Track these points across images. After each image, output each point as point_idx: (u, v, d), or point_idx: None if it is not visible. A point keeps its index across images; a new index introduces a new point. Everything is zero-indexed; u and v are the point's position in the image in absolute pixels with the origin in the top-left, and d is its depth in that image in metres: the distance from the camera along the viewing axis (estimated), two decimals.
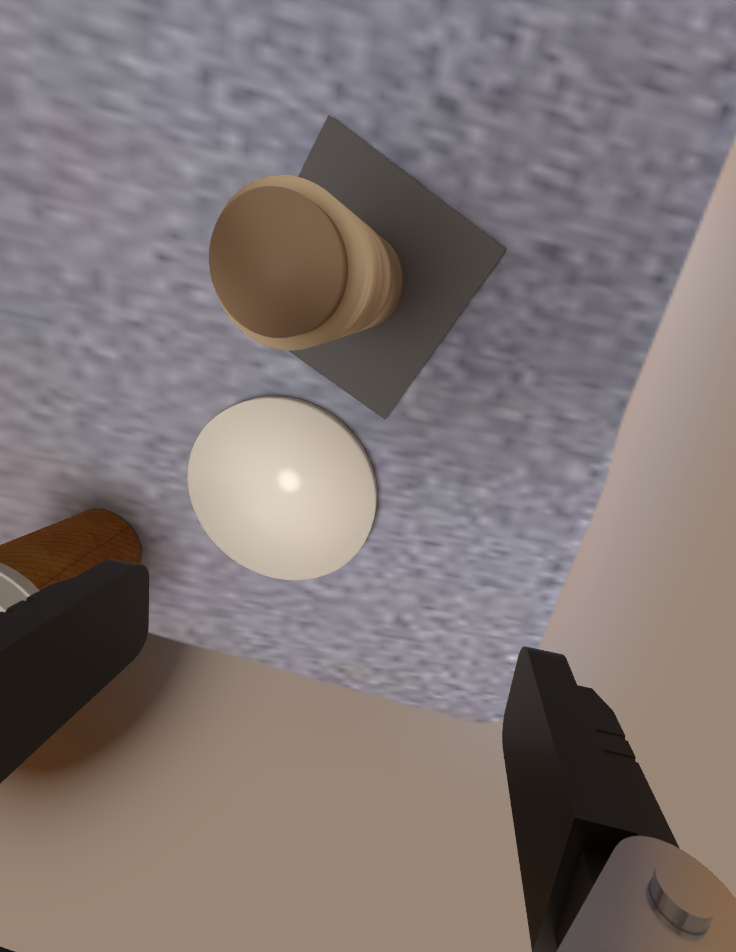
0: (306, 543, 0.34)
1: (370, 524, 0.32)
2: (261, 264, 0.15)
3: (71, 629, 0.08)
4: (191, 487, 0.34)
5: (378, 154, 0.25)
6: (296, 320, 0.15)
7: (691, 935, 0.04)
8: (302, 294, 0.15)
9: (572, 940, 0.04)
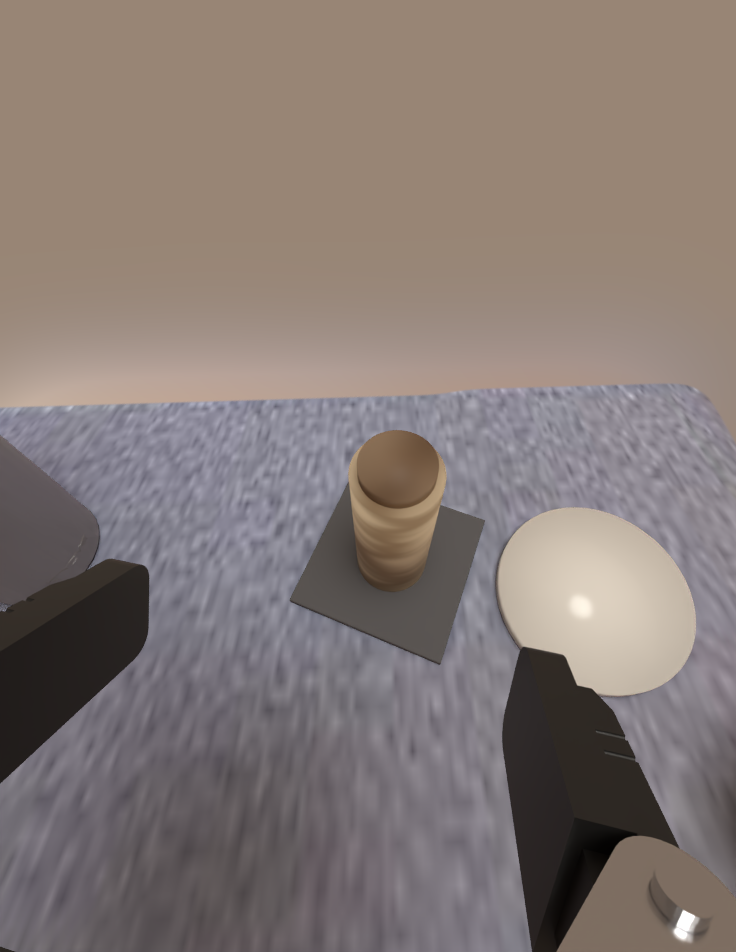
0: (627, 558, 0.35)
1: (576, 508, 0.38)
2: (398, 469, 0.24)
3: (71, 629, 0.08)
4: (637, 689, 0.31)
5: (309, 561, 0.37)
6: (424, 448, 0.25)
7: (691, 935, 0.04)
8: (408, 446, 0.25)
9: (572, 940, 0.04)
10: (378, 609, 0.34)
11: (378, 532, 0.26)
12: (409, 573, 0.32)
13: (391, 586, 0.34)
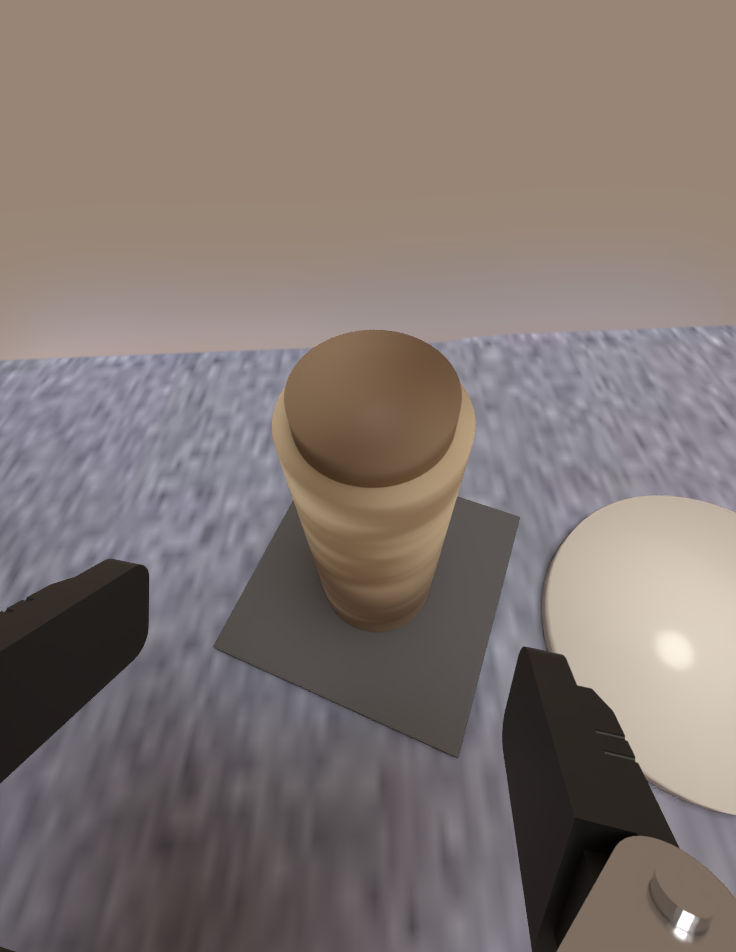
0: None
1: (661, 497, 0.25)
2: (373, 403, 0.11)
3: (72, 629, 0.08)
4: None
5: (249, 583, 0.23)
6: (428, 361, 0.12)
7: (691, 935, 0.04)
8: (396, 359, 0.12)
9: (572, 940, 0.04)
10: (355, 662, 0.21)
11: (338, 538, 0.13)
12: (404, 606, 0.19)
13: (375, 625, 0.21)
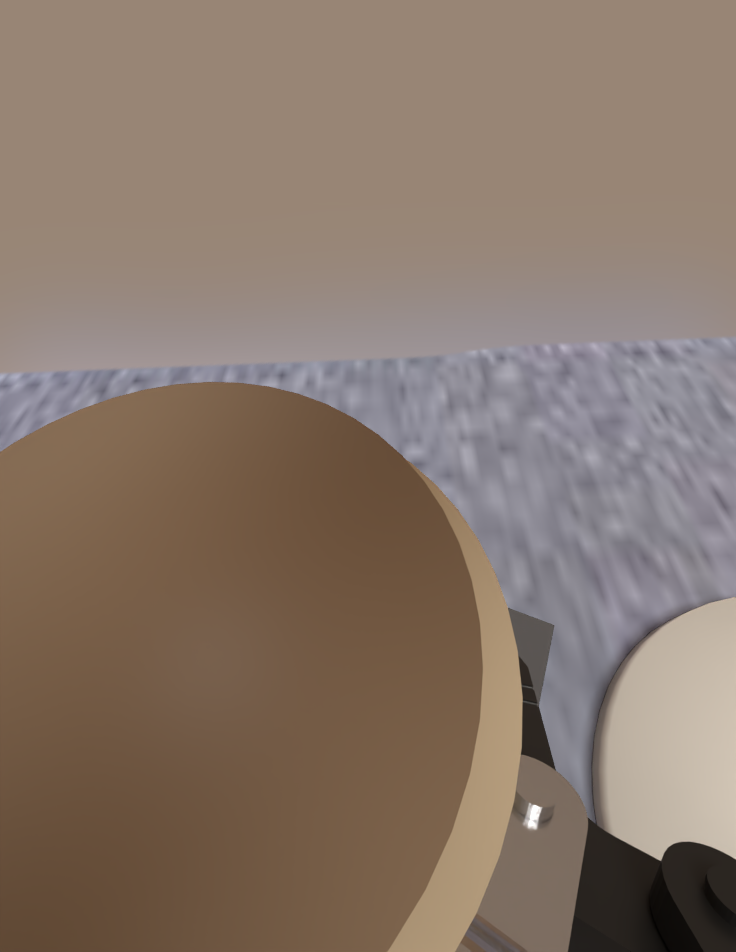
0: None
1: None
2: (139, 693, 0.03)
3: None
4: None
5: None
6: (368, 496, 0.04)
7: (532, 821, 0.05)
8: (264, 488, 0.04)
9: None
10: None
11: None
12: None
13: None
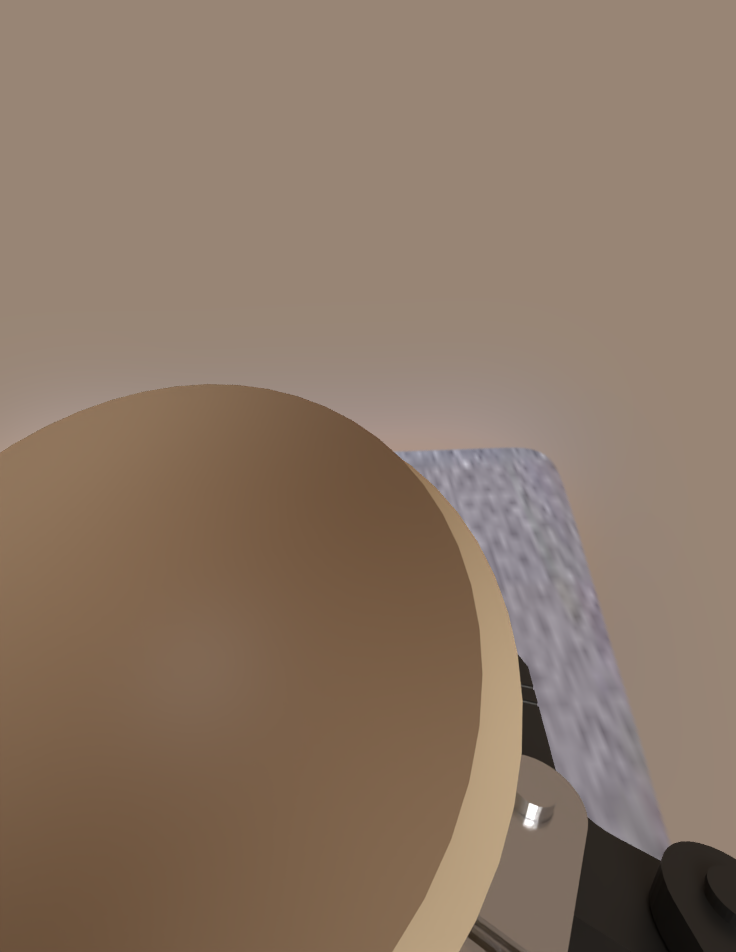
0: None
1: None
2: (136, 698, 0.03)
3: None
4: None
5: None
6: (367, 499, 0.04)
7: (532, 821, 0.05)
8: (262, 491, 0.04)
9: None
10: None
11: None
12: None
13: None
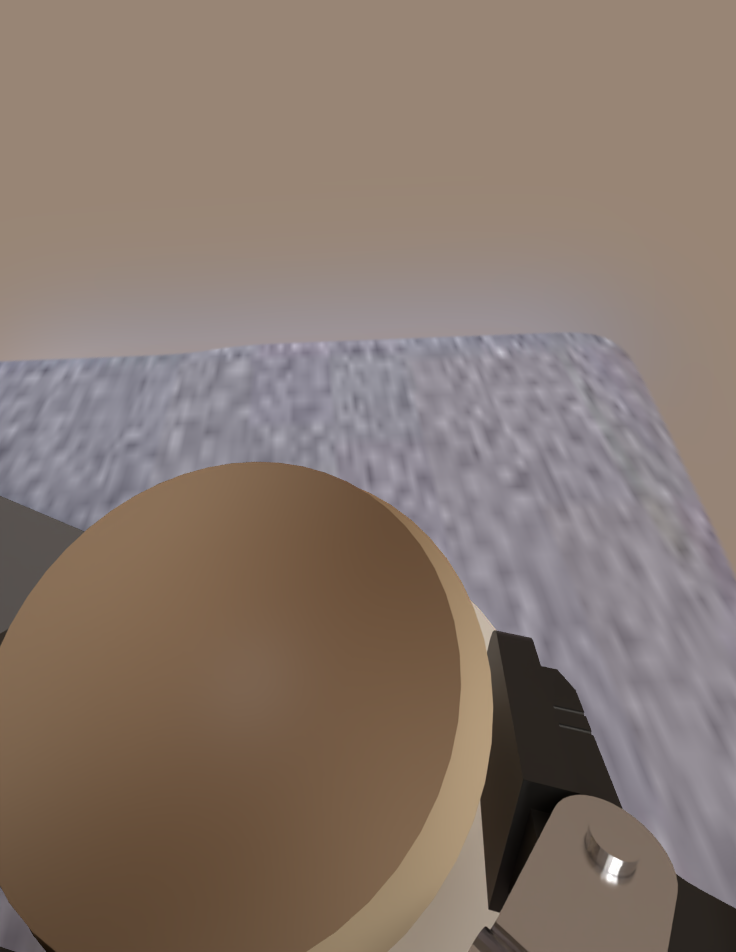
0: None
1: None
2: (222, 702, 0.04)
3: None
4: None
5: None
6: (380, 556, 0.05)
7: (616, 877, 0.05)
8: (302, 549, 0.05)
9: (516, 896, 0.04)
10: None
11: None
12: None
13: None
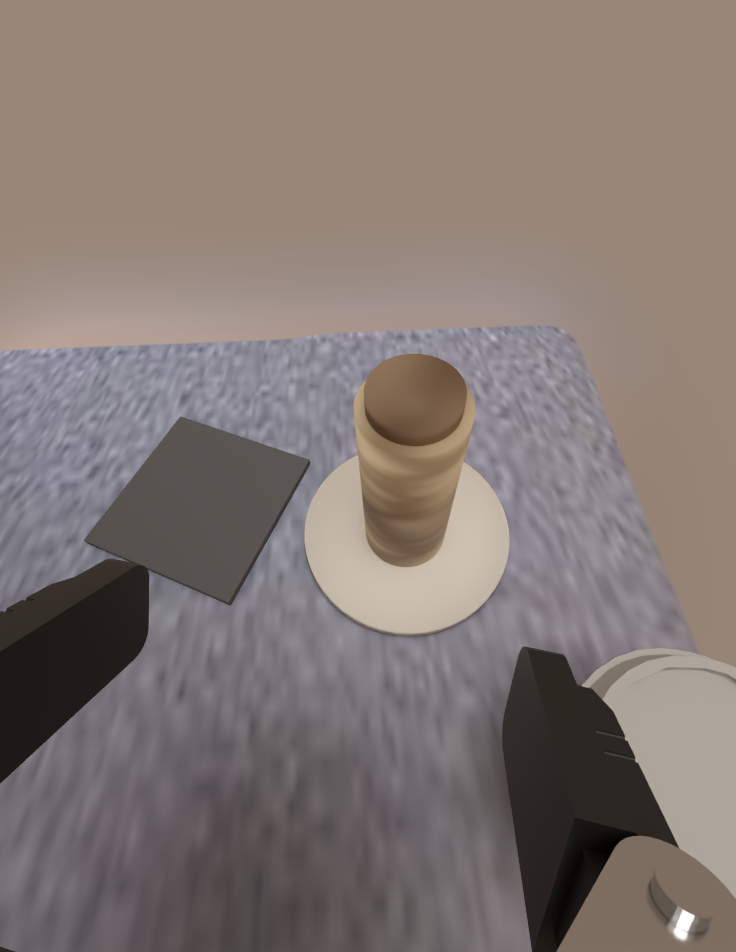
0: None
1: None
2: (416, 397, 0.19)
3: (72, 629, 0.08)
4: (429, 626, 0.28)
5: (114, 502, 0.34)
6: (447, 373, 0.20)
7: (691, 935, 0.04)
8: (428, 372, 0.20)
9: (572, 940, 0.04)
10: (175, 549, 0.32)
11: (391, 481, 0.21)
12: (427, 542, 0.27)
13: (405, 559, 0.29)
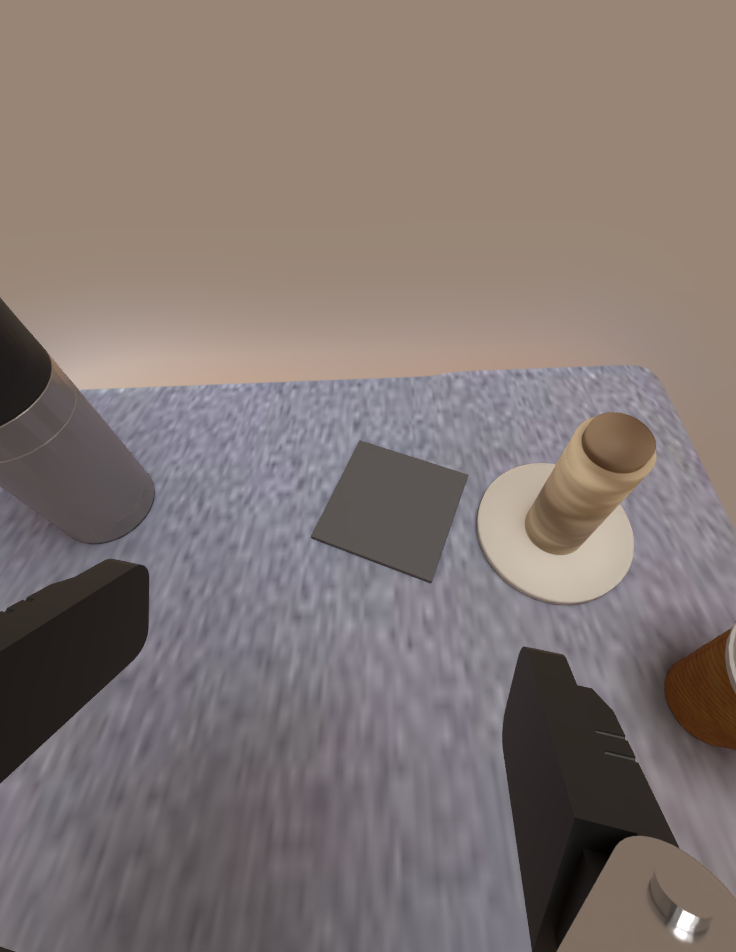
0: None
1: (542, 464, 0.46)
2: (623, 442, 0.31)
3: (71, 629, 0.08)
4: (584, 596, 0.39)
5: (326, 507, 0.45)
6: (638, 426, 0.31)
7: (691, 935, 0.04)
8: (626, 425, 0.31)
9: (572, 940, 0.04)
10: (382, 542, 0.43)
11: (594, 494, 0.32)
12: (587, 536, 0.38)
13: (564, 549, 0.40)
